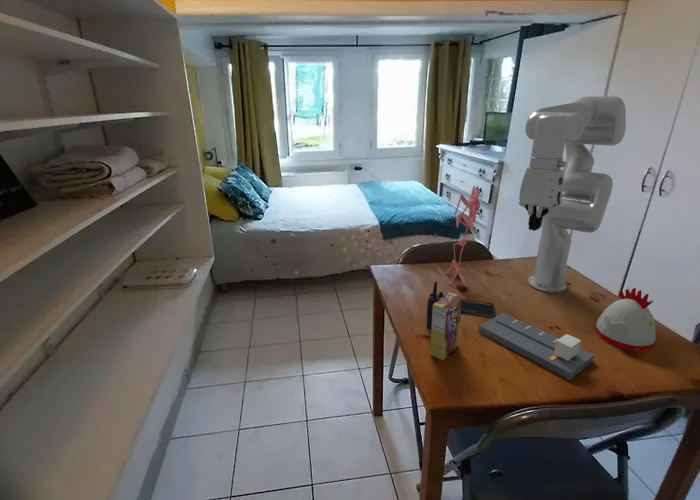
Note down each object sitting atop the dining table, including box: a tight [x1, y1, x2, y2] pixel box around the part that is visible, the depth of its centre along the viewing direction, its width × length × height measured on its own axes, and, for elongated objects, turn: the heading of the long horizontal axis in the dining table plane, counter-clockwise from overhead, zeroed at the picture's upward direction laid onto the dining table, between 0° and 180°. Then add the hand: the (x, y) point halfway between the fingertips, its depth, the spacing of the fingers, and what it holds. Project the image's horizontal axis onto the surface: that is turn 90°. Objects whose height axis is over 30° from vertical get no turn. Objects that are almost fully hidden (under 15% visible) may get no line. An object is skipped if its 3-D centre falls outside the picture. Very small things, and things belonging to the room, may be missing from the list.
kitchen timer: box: [594, 287, 657, 352], centre depth 108 cm, size 14×14×15 cm
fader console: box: [477, 312, 595, 381], centre depth 106 cm, size 12×26×2 cm, turn 36°
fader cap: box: [554, 333, 582, 361], centre depth 98 cm, size 5×4×4 cm
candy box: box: [429, 291, 463, 361], centre depth 102 cm, size 9×4×15 cm, turn 140°
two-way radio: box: [426, 281, 444, 330], centre depth 113 cm, size 6×4×15 cm
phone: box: [461, 299, 496, 318], centre depth 125 cm, size 8×1×15 cm
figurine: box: [445, 185, 488, 293], centre depth 138 cm, size 15×26×35 cm, turn 174°
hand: (534, 229), depth 110 cm, fingers closed
